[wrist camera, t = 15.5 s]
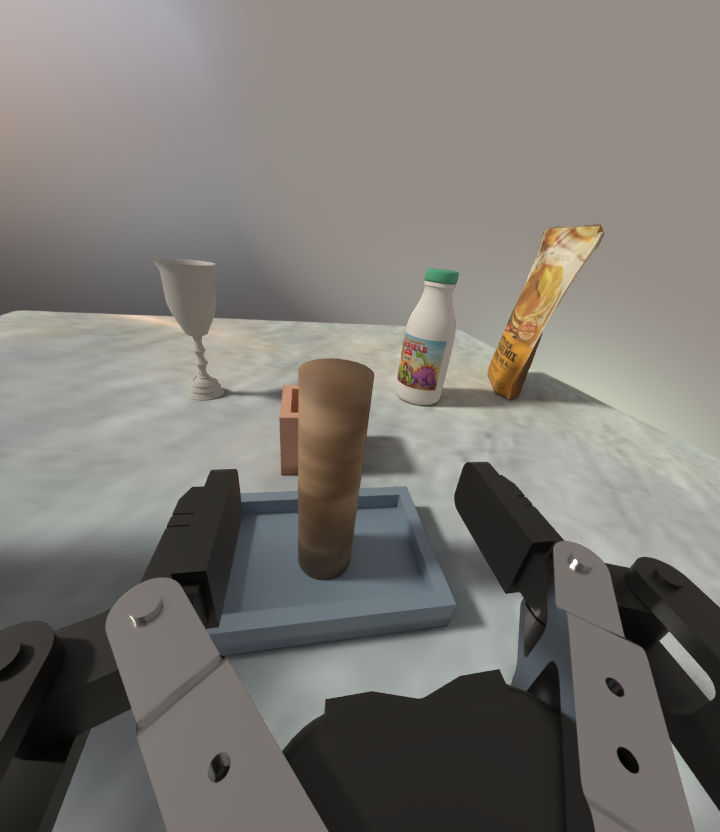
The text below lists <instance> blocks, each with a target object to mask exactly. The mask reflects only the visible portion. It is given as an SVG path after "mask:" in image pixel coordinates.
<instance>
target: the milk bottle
mask: <svg viewBox="0 0 720 832" xmlns="http://www.w3.org/2000/svg"><path fill="white" fill-rule="evenodd" d="M458 276H459V273H458V272H456V271H451V270H444V269H433V268H431V269H430V268H429V269H427V271H426V275H425V283H424V284H425V290H424V293H423V295H422V297H421V300H420V301H419V303H418V305H417V306H416V308H415V309H414V311H413V313H412V314H411V317H410V319H409V321H408V324H407V327H406V332H405V337H404V342H403V348H402V354H401V360H400V366H399V372H398V378H397V384H396V394H397V396H398V397H399V398H401V399H402V400H404V401H406V402H409V403H412V404H417V405H431V404H435V403H436V402H438V400H439V399H440V396H441V393H442V389H443V384H444V380H445V376H446V372H447V368H448V364H449V360H450V355H451V351H452V347H453V342H454V337H455V330H456V321H455V315H454V310H453V299H452V298H453V290H454V289H455V288H456V283H457V280H458Z"/></svg>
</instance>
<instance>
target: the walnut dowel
mask: <svg viewBox="0 0 720 832" xmlns="http://www.w3.org/2000/svg"><path fill="white" fill-rule="evenodd" d="M373 381H374V373H373V371H372V370H371V369H370V368H368V367H367V366H365V365H362V364H360V363H357V362H353V361H349V360H342V359H317V360H312V361H309V362H306V363H304V364H302V365H301V366H300V367H299V405H298V562H299V565H300V568H301V569H302V571H303V572H304V573H305V574H306V575H308V576H309V577H311V578H313V579H316V580H331V579H334V578H337V577H338V576H340V575H341V574H343V573H344V572H345V571H346V569H347V568H348V566H349V564H350V560H351V552H352V544H353V537H354V529H355V521H356V513H357V505H358V498H359V490H360V482H361V474H362V467H363V459H364V451H365V443H366V436H367V428H368V420H369V412H370V405H371V397H372V389H373Z"/></svg>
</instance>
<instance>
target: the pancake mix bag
mask: <svg viewBox="0 0 720 832" xmlns="http://www.w3.org/2000/svg"><path fill="white" fill-rule="evenodd" d="M603 235H604V231H603V229H602V226H601V225H600V224H593V225H584V226H573V225H570V226H558V227H553V228H550V229H548V230H546V231H545V232H543V236H542V240H541V244H540V247H539V250H538V252H537V255H536V258H535V260H534V263H533V266H532V268H531V271H530V273H529V276H528V278H527V280H526V283H525V285H524V289H523V292H522V294H521V296H520V298H519V300H518V302H517V304H516V306H515V308H514V310H513V312H512V314H511V317H510V319H509V321H508V324H507V326H506V329H505V331H504V333H503V335H502V338H501V340H500V342H499V345H498V347H497V349H496V351H495V353H494V356H493V358H492V360H491V362H490V365H489V369H488V377H489V379H490V382H491V384H492V386H493V389H494V391H495V393H496V394H498V395H501V396H504V397H506V398H507V399H508V400H511V399H516V398H518V396H519V394H520V391H521V389H522V385H523V383H524V381H525V379H526V376H527V372H528V370H529V368H530V366H531V363H532V361H533V358H534V355H535V352H536V349H537V347H538V344H539V342H540V339H541V336H542V332H543V330H544V328H545V326H546V324H547V323H548V321H549V319H550V318H551V316H552V314H553V313H554V311H555V310H556V308H557V307H558V305H559V304H560V302H561V300H562V298H563V297H564V295H565V293H566V291H567V290H568V288H569V287H570V285H571V283H572V282H573V280H574V279H575V277H576V276H577V274H578V273H579V271H580V269H581V268H582V267H583V266H584V264H585V263H586V261H587V260H588V259H589V257H590V256H591V254H592V253H593V252H594V250H595V249H596V248H597V246H598V245H599V243H600V241H601V239H602V237H603Z"/></svg>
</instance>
